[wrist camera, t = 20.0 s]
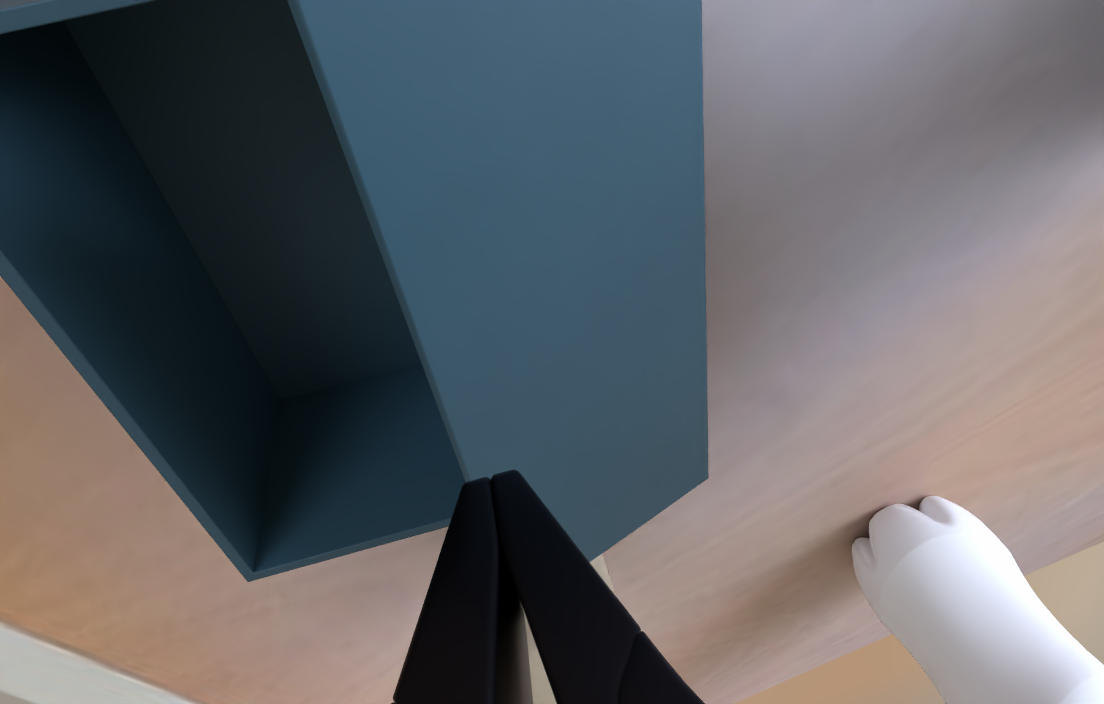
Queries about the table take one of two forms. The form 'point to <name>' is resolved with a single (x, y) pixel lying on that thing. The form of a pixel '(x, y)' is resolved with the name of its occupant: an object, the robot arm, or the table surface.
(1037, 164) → the table surface
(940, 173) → the table surface
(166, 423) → the carton
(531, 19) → the flap
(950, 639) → the water bottle
